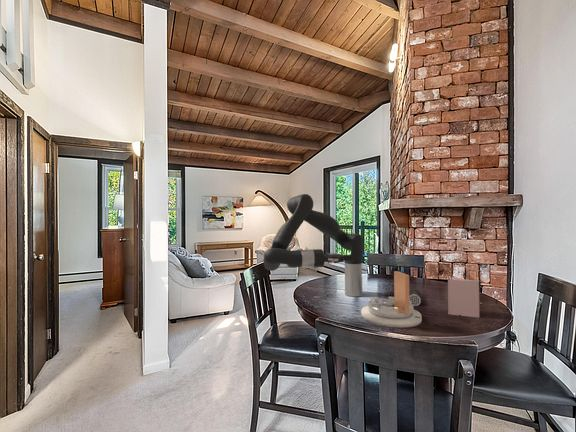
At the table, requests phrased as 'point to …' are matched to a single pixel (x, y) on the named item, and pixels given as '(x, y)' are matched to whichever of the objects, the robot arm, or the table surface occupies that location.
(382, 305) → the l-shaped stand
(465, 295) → the greeting card
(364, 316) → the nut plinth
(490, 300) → the table surface
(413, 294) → the flashlight
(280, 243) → the robot arm
